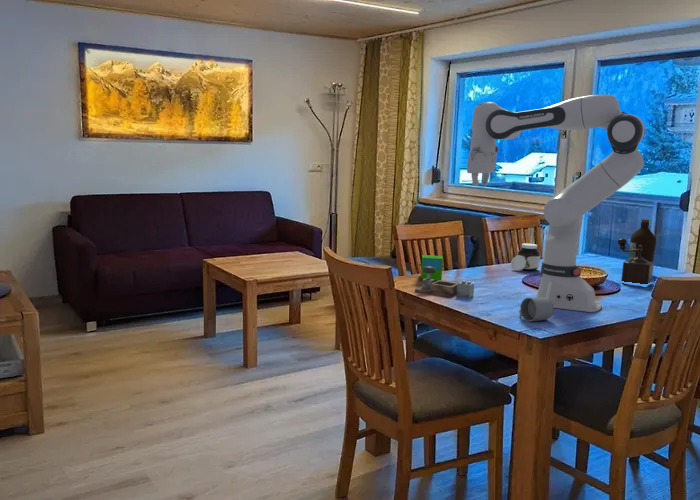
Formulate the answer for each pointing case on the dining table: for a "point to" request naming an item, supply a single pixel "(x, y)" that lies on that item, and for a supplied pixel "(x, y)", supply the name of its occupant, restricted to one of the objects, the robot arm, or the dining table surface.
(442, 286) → the chassis
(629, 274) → the manual coffee grinder
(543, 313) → the ceramic mug
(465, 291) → the engine block
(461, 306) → the dining table surface
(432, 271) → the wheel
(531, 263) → the spread jar
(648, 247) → the olive oil
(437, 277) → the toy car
